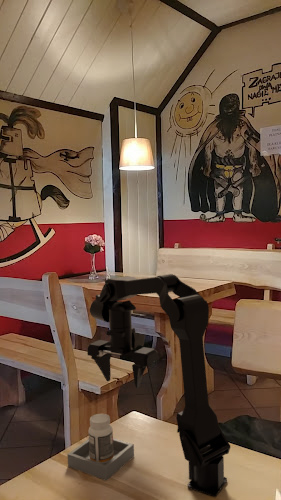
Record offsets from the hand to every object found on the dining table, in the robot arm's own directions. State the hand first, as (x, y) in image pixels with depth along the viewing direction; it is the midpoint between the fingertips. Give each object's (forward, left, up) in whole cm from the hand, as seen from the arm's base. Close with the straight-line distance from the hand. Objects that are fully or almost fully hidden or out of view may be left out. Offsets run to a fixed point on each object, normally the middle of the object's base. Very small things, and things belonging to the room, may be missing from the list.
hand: (122, 384), depth 117 cm
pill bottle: (-3, +14, -13) cm, 19 cm away
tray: (-3, +14, -13) cm, 19 cm away
